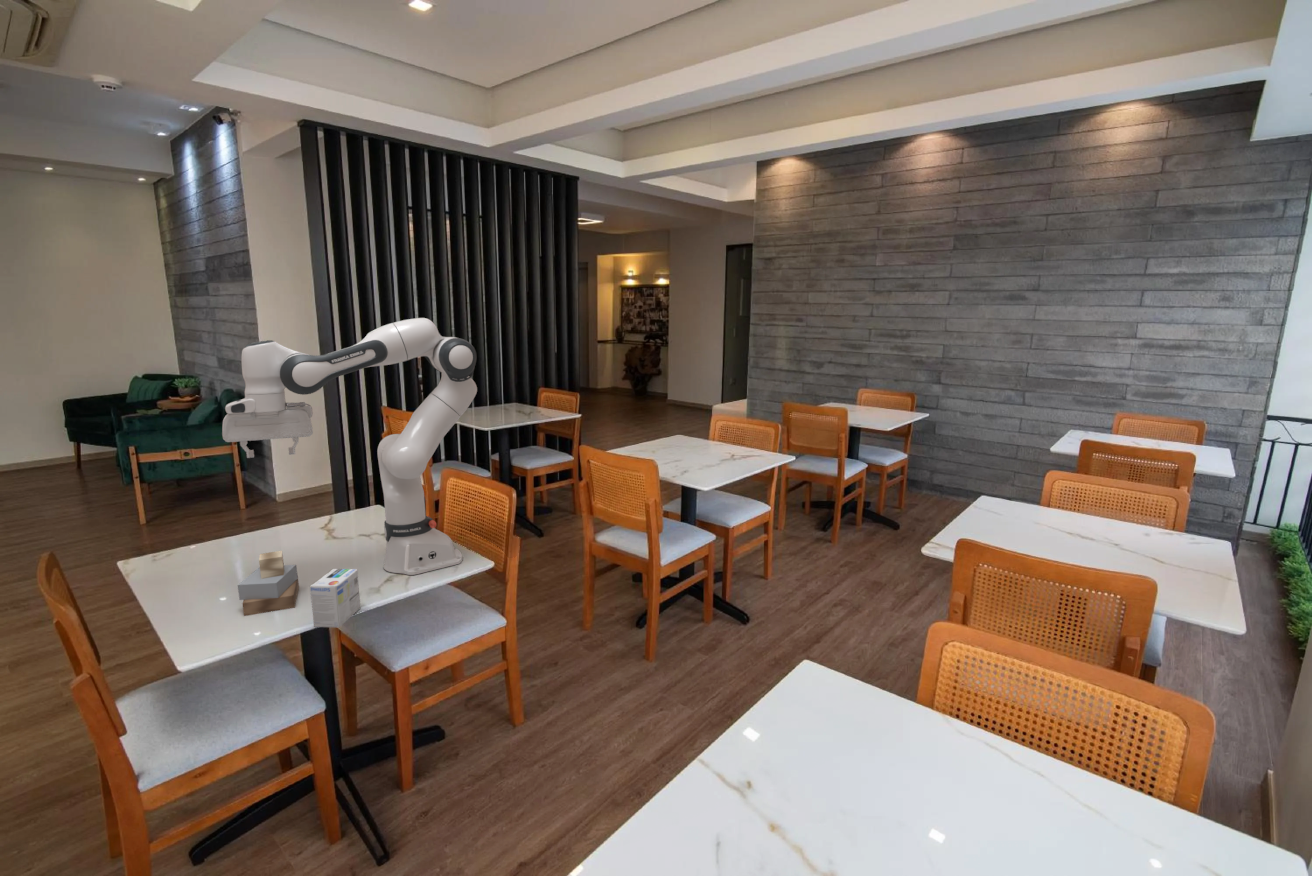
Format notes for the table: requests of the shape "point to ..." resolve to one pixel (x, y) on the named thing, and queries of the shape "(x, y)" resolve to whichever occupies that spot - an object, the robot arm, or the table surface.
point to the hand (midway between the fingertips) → (271, 455)
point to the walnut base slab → (272, 602)
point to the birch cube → (271, 564)
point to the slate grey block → (267, 584)
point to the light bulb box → (335, 597)
